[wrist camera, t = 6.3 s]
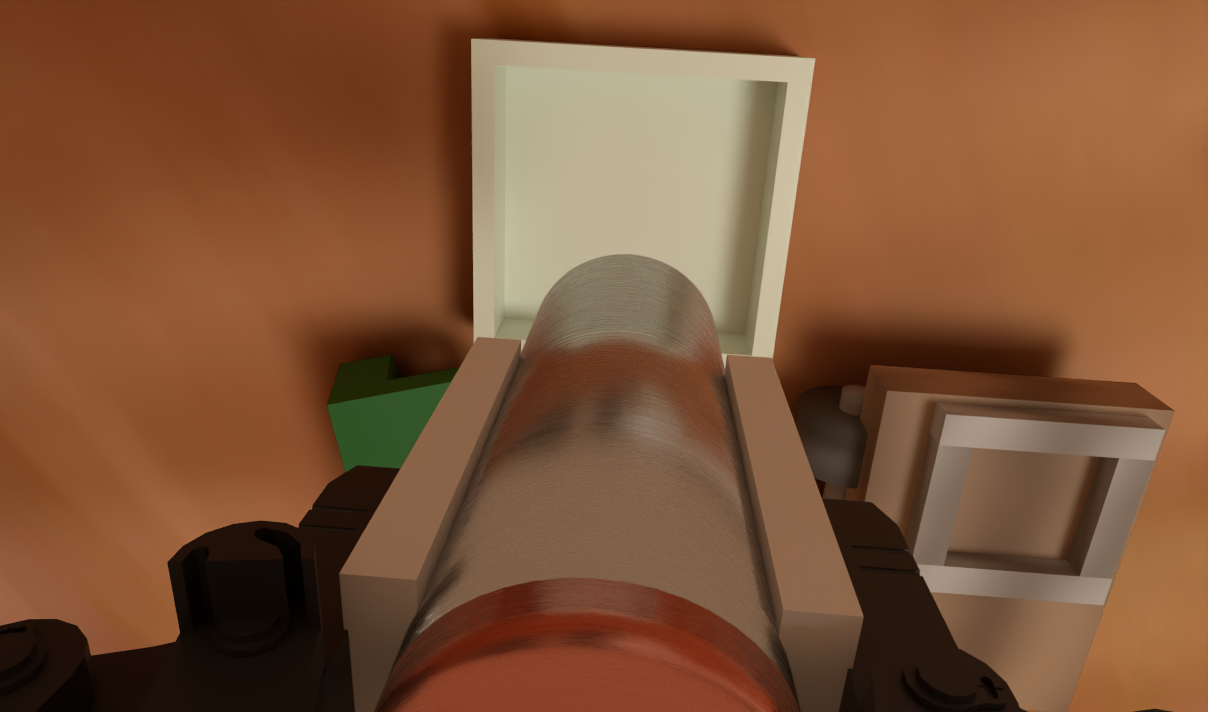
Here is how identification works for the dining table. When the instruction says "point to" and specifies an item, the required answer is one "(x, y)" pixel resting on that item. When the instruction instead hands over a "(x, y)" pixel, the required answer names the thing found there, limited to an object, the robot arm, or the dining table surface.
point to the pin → (604, 525)
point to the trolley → (998, 500)
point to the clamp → (382, 410)
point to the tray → (635, 174)
